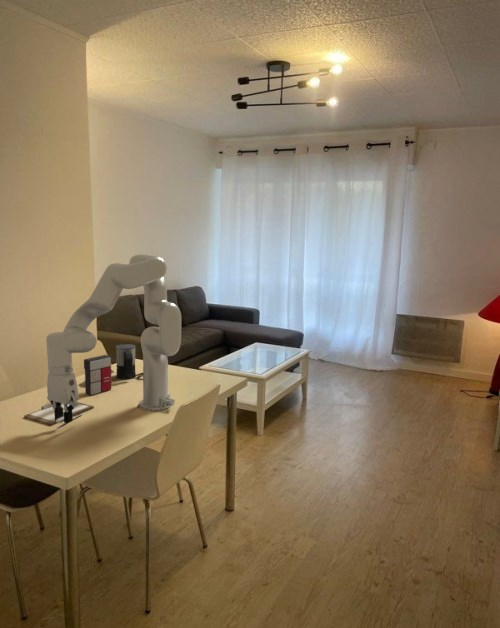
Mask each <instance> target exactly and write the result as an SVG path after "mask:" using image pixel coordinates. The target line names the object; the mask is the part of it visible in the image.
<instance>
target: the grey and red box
mask: <svg viewBox="0 0 500 628" xmlns="http://www.w3.org/2000/svg"><path fill="white" fill-rule="evenodd" d="M83 369H84V385H85V388H84V389H85V391H84V392H85V395H87V396H94V395H98V394H100V393H104V392H108V391H111V390H112V374H111V369H112V356H111V355H108V354H104V355H99V356H98V355H97V356H94V357H90V358H89V357H88V358H85V359H83Z"/></svg>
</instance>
